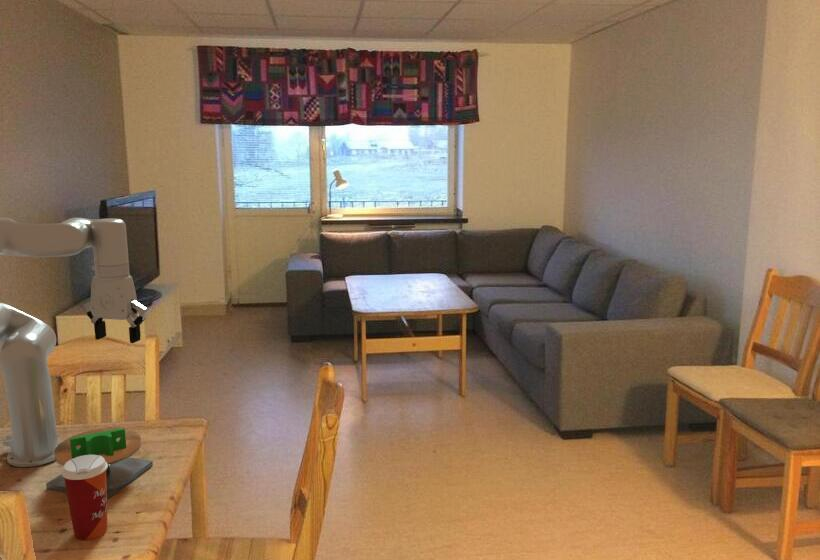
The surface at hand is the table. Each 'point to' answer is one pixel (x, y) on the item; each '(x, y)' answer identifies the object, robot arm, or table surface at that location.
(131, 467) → the bronze disc on slab
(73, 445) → the pipe clamp
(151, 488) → the table surface
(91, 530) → the coffee cup
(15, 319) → the robot arm
